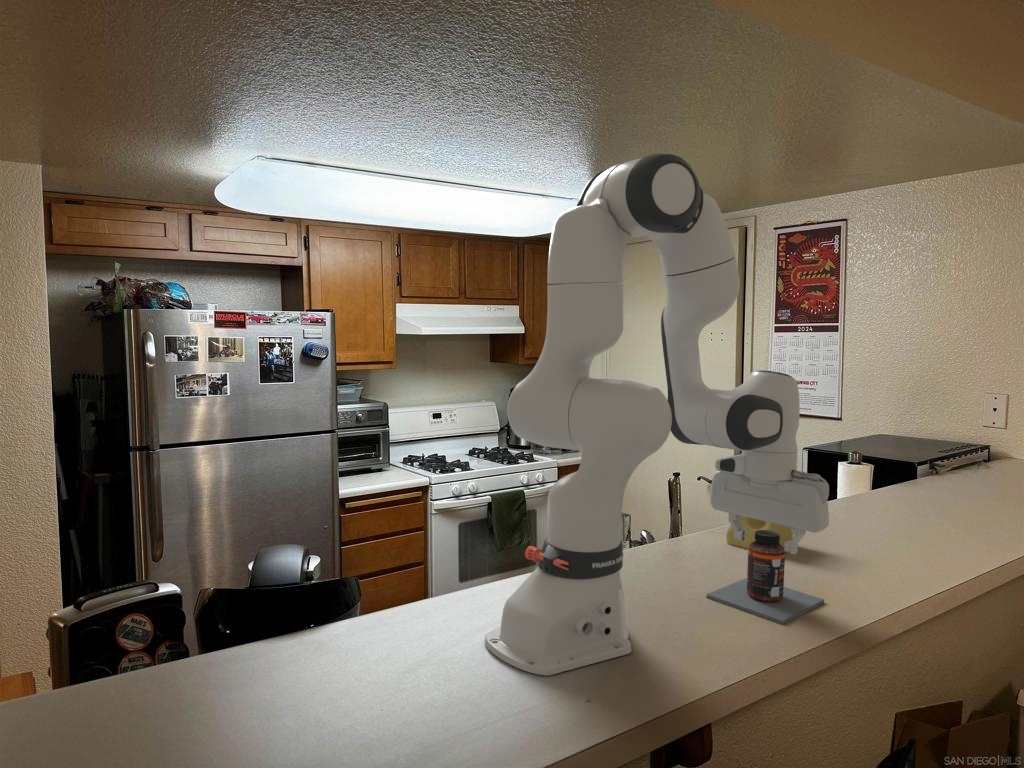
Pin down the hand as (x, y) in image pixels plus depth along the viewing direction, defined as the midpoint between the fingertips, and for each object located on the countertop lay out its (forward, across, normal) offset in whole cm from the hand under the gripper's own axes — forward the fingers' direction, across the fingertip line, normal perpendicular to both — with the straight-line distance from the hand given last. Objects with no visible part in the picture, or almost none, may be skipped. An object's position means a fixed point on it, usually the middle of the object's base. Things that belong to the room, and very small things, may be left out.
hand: (764, 546), depth 117 cm
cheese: (+9, +17, -29) cm, 35 cm away
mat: (+10, 0, -1) cm, 10 cm away
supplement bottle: (+9, 0, -1) cm, 9 cm away
